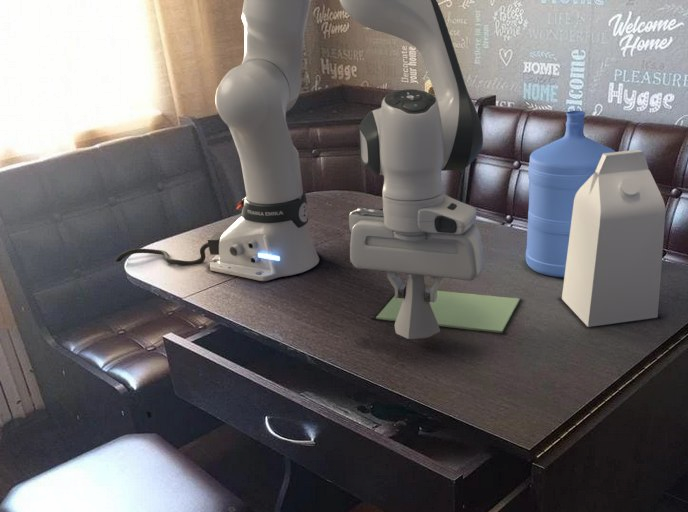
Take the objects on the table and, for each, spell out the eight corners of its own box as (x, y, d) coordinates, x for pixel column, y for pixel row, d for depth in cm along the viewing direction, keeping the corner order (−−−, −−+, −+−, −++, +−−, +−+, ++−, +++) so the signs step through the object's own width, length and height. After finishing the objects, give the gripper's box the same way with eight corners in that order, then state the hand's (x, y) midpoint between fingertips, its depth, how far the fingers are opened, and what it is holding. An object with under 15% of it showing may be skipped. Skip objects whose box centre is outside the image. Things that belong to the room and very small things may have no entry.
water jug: (625, 271, 143) (640, 115, 129) (548, 285, 140) (555, 126, 126) (583, 244, 156) (593, 99, 142) (512, 256, 153) (515, 110, 139)
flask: (387, 325, 123) (383, 267, 118) (428, 316, 125) (426, 258, 120) (405, 344, 117) (403, 283, 112) (448, 334, 119) (447, 274, 114)
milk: (626, 290, 136) (642, 140, 123) (657, 317, 126) (678, 157, 113) (561, 298, 135) (570, 147, 121) (587, 327, 125) (600, 166, 111)
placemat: (376, 319, 132) (376, 316, 132) (402, 289, 143) (402, 287, 142) (502, 333, 125) (502, 331, 125) (519, 300, 135) (519, 298, 135)
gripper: (339, 212, 112) (346, 299, 119) (474, 224, 105) (473, 315, 112) (356, 199, 117) (362, 283, 124) (487, 209, 110) (485, 298, 117)
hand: (416, 298), depth 118 cm, fingers closed on flask, 3 cm apart
